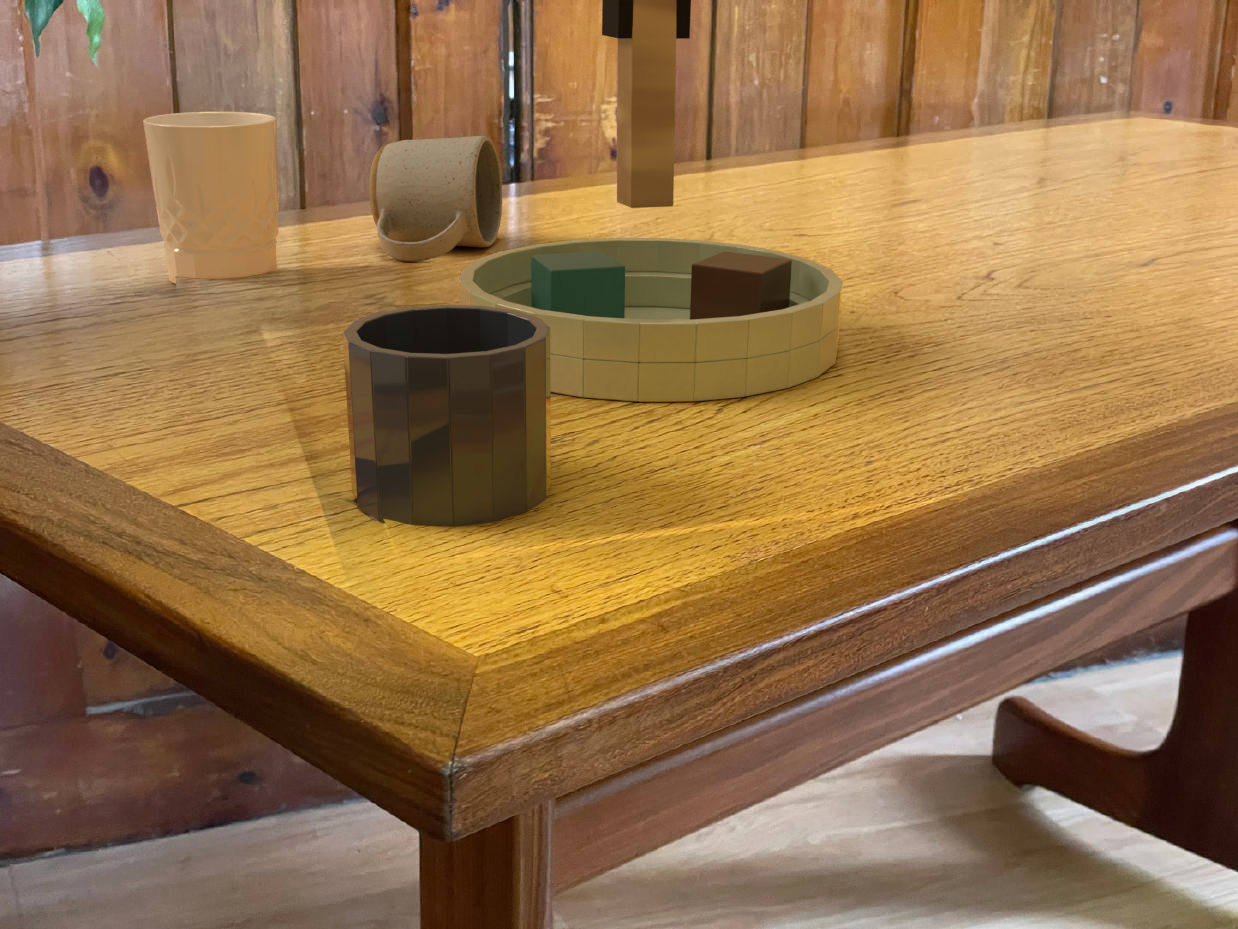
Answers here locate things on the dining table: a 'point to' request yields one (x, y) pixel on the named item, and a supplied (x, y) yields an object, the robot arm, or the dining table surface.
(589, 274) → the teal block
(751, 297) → the walnut block
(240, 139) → the tan cup
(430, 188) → the ceramic mug
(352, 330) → the stick cup
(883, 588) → the dining table surface
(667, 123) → the brown stick
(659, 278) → the bowl
